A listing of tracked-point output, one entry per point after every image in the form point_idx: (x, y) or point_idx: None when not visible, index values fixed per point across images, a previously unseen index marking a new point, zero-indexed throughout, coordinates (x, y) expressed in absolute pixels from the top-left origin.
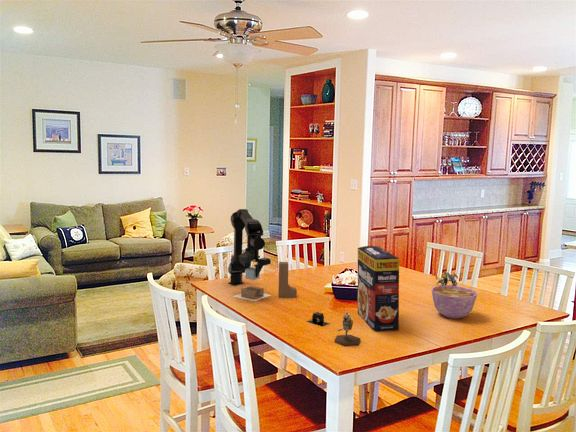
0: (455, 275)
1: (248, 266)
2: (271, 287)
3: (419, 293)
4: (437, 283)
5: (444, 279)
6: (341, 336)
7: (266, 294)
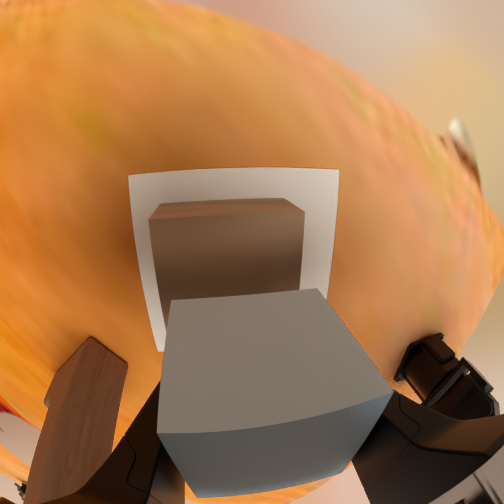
0: (21, 497)
1: (378, 460)
2: None
3: (15, 466)
4: None
5: None
6: None
7: None
